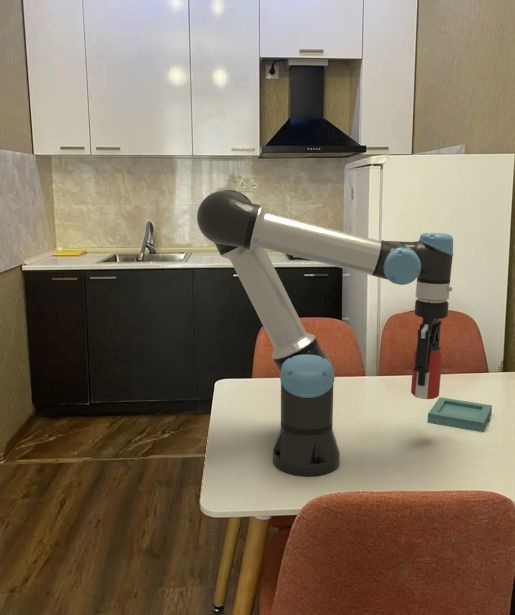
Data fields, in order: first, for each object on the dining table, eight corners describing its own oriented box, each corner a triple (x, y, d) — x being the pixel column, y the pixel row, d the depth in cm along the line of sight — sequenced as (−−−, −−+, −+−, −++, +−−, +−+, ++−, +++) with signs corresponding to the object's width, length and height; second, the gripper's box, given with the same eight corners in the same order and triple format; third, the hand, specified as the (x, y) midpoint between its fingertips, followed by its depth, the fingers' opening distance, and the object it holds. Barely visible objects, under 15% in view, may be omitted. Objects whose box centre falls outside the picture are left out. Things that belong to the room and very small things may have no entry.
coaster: (483, 432, 154) (484, 422, 153) (427, 422, 160) (428, 413, 160) (491, 414, 166) (492, 405, 165) (439, 405, 172) (439, 397, 172)
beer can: (440, 401, 143) (444, 352, 140) (411, 398, 144) (414, 350, 142) (437, 392, 149) (441, 344, 147) (410, 389, 150) (413, 343, 148)
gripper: (439, 308, 132) (431, 408, 136) (456, 295, 149) (448, 384, 153) (405, 304, 135) (398, 402, 140) (425, 292, 152) (419, 379, 157)
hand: (424, 393), depth 147 cm, fingers closed on beer can, 7 cm apart
